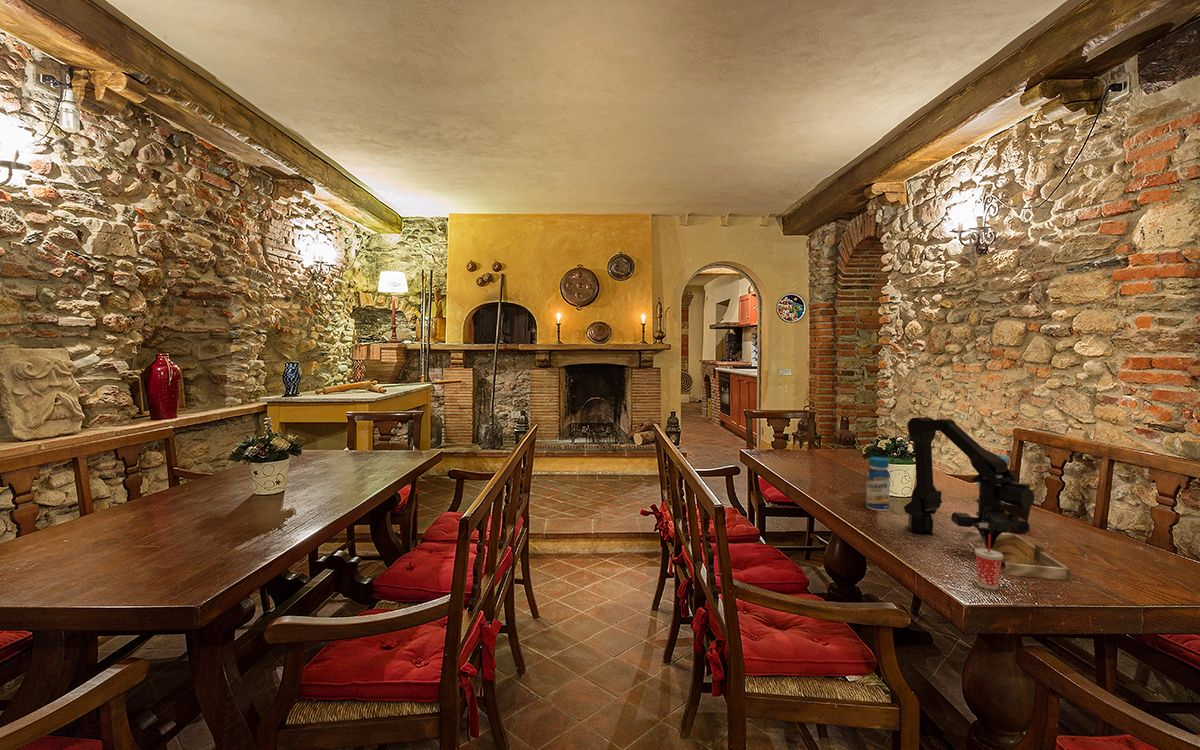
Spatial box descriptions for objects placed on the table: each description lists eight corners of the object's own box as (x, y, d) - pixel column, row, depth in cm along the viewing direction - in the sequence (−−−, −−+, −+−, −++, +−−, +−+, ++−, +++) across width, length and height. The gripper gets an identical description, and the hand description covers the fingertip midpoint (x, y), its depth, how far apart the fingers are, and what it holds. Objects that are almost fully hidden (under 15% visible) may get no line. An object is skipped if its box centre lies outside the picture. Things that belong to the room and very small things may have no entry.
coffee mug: (1035, 536, 177) (1036, 506, 176) (1006, 534, 178) (1007, 505, 178) (1015, 524, 188) (1016, 497, 187) (988, 522, 190) (989, 495, 189)
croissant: (1023, 585, 147) (1041, 565, 145) (985, 561, 153) (1002, 540, 150) (1023, 560, 164) (1039, 541, 161) (988, 539, 169) (1003, 520, 166)
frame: (1006, 574, 146) (1007, 559, 146) (963, 539, 174) (963, 526, 173) (1070, 580, 143) (1071, 564, 143) (1015, 543, 170) (1016, 530, 170)
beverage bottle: (891, 507, 207) (893, 458, 206) (886, 512, 201) (888, 461, 200) (868, 503, 213) (870, 455, 212) (862, 508, 207) (864, 458, 206)
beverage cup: (984, 590, 137) (986, 538, 136) (967, 580, 143) (970, 530, 142) (1007, 590, 137) (1010, 538, 136) (990, 580, 143) (992, 530, 142)
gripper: (967, 504, 153) (964, 556, 154) (1041, 509, 149) (1039, 562, 149) (951, 493, 164) (949, 542, 165) (1020, 498, 159) (1018, 548, 160)
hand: (988, 549), depth 159 cm, fingers closed
